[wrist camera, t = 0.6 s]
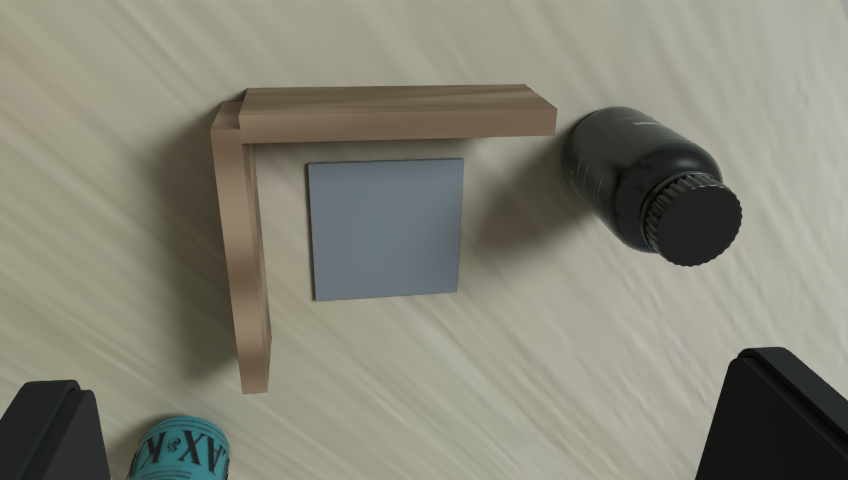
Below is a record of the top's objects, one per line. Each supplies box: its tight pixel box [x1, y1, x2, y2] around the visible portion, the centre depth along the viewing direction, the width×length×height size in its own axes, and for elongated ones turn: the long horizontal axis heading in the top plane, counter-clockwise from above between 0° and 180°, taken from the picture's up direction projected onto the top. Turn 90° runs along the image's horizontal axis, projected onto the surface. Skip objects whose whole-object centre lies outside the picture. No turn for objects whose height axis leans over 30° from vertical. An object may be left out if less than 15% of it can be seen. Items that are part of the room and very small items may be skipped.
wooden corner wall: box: [210, 84, 557, 394], centre depth 41 cm, size 18×18×6 cm
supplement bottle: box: [563, 107, 742, 267], centre depth 39 cm, size 7×7×12 cm
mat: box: [308, 158, 464, 301], centre depth 44 cm, size 10×10×1 cm
